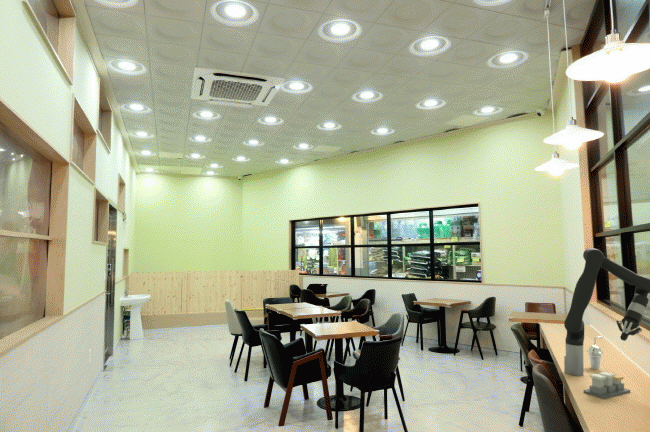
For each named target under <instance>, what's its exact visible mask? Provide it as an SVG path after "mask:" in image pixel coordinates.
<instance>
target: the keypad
mask: <svg viewBox="0 0 650 432" xmlns="http://www.w3.org/2000/svg"><path fill="white" fill-rule="evenodd" d="M583 392H584V394H586V395H588V396H589V395H590V396H593V397H596V398H598V399H599V398H600V399H602V400H606V399H609V398H613V397H617V396H622V395H626V394H630V393H631V389H627V388H625V383H624V382H621V384H614V383H613V386H606V385H604V388H596V387H593V386H592V384H590V385H589V388H587V389H583Z"/></svg>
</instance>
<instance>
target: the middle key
mask: <svg viewBox="0 0 650 432" xmlns="http://www.w3.org/2000/svg"><path fill="white" fill-rule="evenodd" d="M598 374H599V375H602V376H606V379H604V385H606V386H613V377H615V375H616V374H615V373H610V372H608V371H607V372H606V371H602V372H599V373H598Z"/></svg>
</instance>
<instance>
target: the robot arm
mask: <svg viewBox="0 0 650 432" xmlns="http://www.w3.org/2000/svg"><path fill="white" fill-rule="evenodd" d="M582 254H583V255H582V257H583V259H584V260H585V264H584V268H583V272H582V273H581V274H580V277H579V278H578V280H577V282H576V283H575V284H576V285H575V287H574V290H573V295H572V299H571V302H570V303H571V304H570V307H569V311H568V313H567V316H566V318H565V320H564V323H563V324H564V325H563V326H564V328H565V331H566V337H565V355H564V358H563V359H564V362H563V363H564V364H563V367H564V369H563V370H564V373H565V374H568V375H572V376H578V377H581V376H584V372H585V371H584V370H585V369H584V340H585V323H584V320H583V317H584V314H585V311H586V309H587V307H588V306H589V304H590V302H591V300H592V296H593V295H594V289H595V286H596V282H597V278H598V275H599V272H600V269H603V270H605V271H607V272H608V273H610V274H612V275H613V276H615V277H616V278H618V279H620V280H621V281H623V282H625V283H627V284H628V285H631V286H635V288H634V295H633V298H632V300H631V302H630V304H629V305H628V308H627V310H626V312H625V314H624V316H623V318H622V319H621V320H616V321H615V322H616V325H617V327H618V330H619V331H620V332H621V335H620V340H621V341H622V342H623V341H624V342H625V341H627V340H628V338H629V336H635V335H637V334H639V333H642V332H643V330H642V328H641V327H640V323H641V321H642V318H643V316H644V314H645V311H646V308H647V306H648V304H649V298H648V295H649V294H650V278H648V277H645V276H643V275H639V274H637V273H635V272H634V271H632V270H630V269H628V268H627V267H625V266H623V265H621V264H619V263H617V262H615V261H612V260H611V259H610V258H608V257H607V256H606V255H604V253H603V252H602V251H601V250H600V249H597V248H594V247H590V248H586V249H585V250H584V251H583V253H582Z"/></svg>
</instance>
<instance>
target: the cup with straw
mask: <svg viewBox="0 0 650 432" xmlns="http://www.w3.org/2000/svg"><path fill="white" fill-rule="evenodd" d="M604 337H605V336H604V335H602V336H601V335H600V336H595V337H593V342H594V344H593V345H590V346H589V347H588V349H587V351H586V352H588V356H589V364H590V365H589V366H590V368H591V369H593V370H600V367H601V360H602V359H601V358H602V355H603V354H604V352H603V350H602V349H601V347H599V346H597V344H596V340H597V339H598V338H604Z"/></svg>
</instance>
